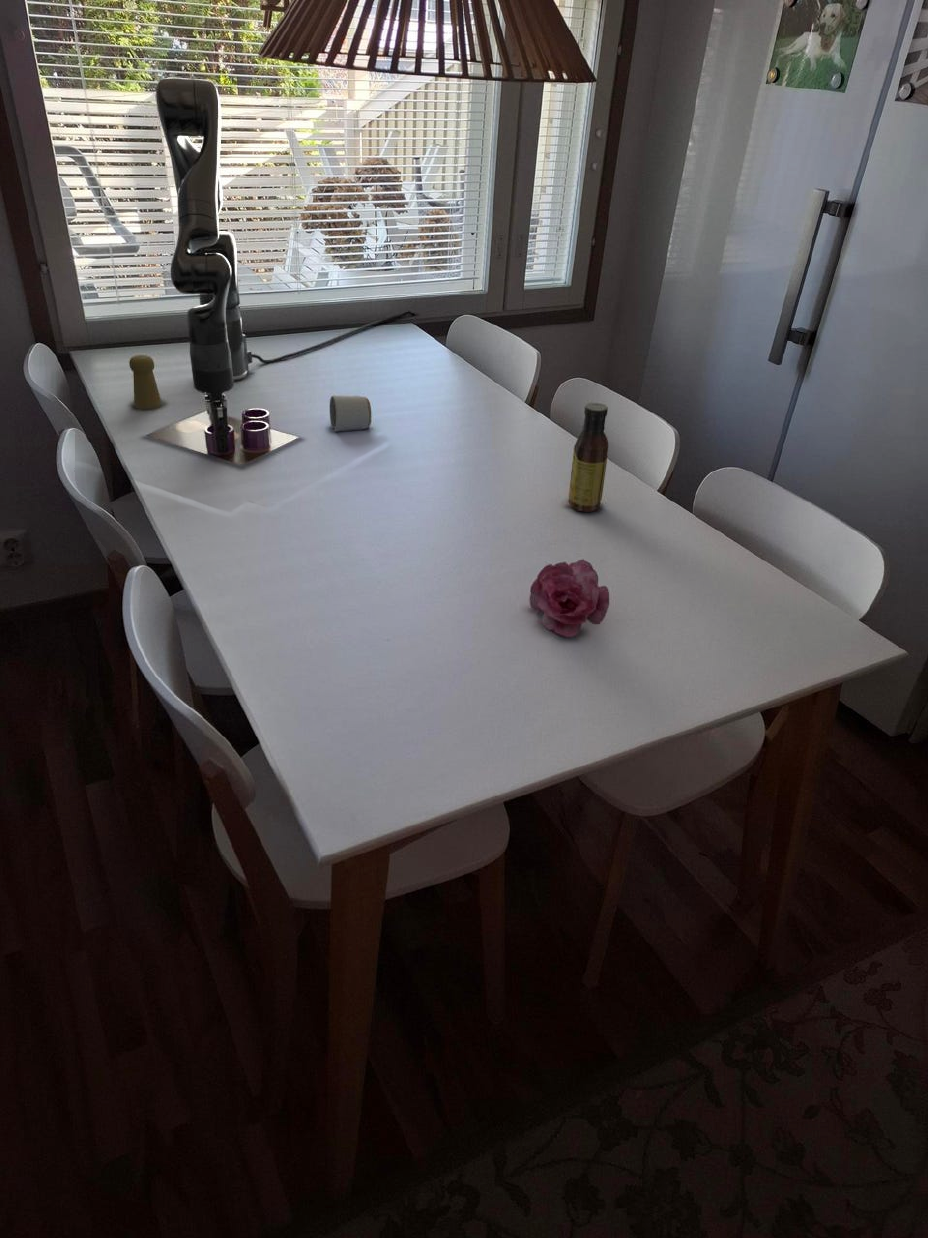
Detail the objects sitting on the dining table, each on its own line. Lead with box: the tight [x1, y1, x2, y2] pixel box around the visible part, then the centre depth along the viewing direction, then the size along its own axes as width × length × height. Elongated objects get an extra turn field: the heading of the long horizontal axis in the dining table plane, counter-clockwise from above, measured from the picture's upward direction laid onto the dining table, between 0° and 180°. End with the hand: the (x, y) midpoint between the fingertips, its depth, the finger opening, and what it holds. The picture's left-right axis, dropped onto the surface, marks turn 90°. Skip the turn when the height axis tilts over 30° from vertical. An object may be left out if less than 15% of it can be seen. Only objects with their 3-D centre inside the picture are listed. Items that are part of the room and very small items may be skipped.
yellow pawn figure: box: [128, 354, 163, 410], centre depth 191 cm, size 6×6×11 cm
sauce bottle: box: [568, 402, 609, 513], centre depth 157 cm, size 6×6×20 cm
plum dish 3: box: [240, 421, 270, 451], centre depth 175 cm, size 6×6×4 cm
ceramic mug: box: [329, 394, 372, 432], centre depth 187 cm, size 11×8×8 cm
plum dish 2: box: [241, 408, 272, 433], centre depth 181 cm, size 6×6×4 cm
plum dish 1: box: [204, 425, 235, 455], centre depth 173 cm, size 6×6×4 cm
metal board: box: [145, 410, 300, 466], centre depth 180 cm, size 18×26×1 cm
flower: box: [529, 559, 610, 639], centre depth 127 cm, size 11×10×10 cm
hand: (220, 445), depth 174 cm, fingers open, 6 cm apart
